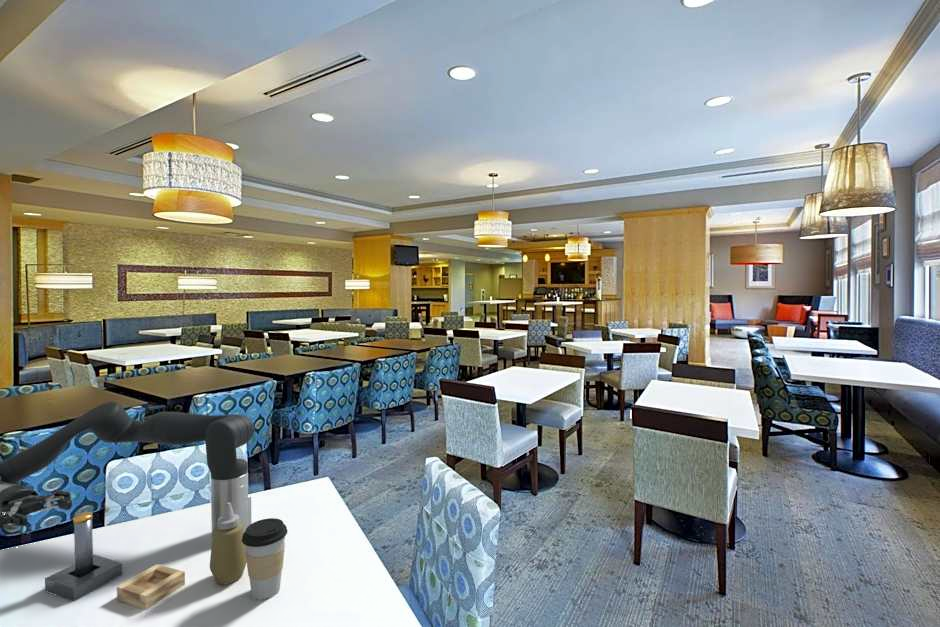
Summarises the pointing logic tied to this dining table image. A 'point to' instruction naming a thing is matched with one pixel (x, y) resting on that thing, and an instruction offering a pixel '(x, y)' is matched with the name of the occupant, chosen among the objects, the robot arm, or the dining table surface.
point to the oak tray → (150, 586)
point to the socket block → (83, 579)
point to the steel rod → (83, 544)
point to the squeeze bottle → (228, 548)
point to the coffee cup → (265, 556)
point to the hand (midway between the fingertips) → (48, 513)
